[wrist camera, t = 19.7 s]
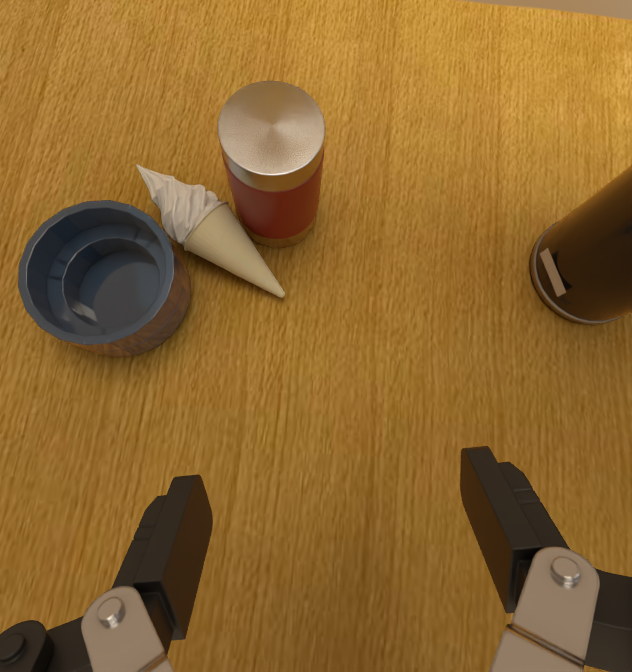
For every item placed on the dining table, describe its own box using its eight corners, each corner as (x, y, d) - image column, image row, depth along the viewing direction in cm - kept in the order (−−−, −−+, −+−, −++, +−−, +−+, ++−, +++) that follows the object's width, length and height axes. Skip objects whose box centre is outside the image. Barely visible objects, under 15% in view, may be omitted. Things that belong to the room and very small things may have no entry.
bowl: (165, 215, 38) (144, 180, 32) (210, 327, 36) (195, 308, 31) (42, 260, 36) (-1, 231, 31) (82, 378, 35) (44, 368, 29)
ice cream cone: (287, 290, 40) (153, 170, 38) (313, 262, 35) (164, 125, 34) (254, 328, 37) (107, 199, 35) (278, 301, 33) (114, 154, 31)
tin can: (298, 165, 39) (300, 66, 29) (329, 231, 38) (344, 154, 27) (226, 191, 38) (200, 99, 28) (255, 260, 37) (240, 191, 27)
